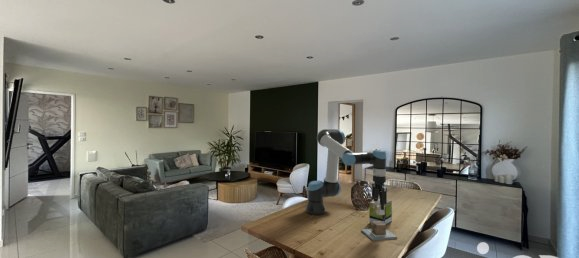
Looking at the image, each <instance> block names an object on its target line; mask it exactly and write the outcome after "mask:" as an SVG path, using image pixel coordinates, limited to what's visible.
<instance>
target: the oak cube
mask: <svg viewBox="0 0 579 258" xmlns="http://www.w3.org/2000/svg"><path fill="white" fill-rule="evenodd" d="M373 213H375V214H376V215H379V204H375V205H373ZM384 215H385V206H384Z"/></svg>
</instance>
